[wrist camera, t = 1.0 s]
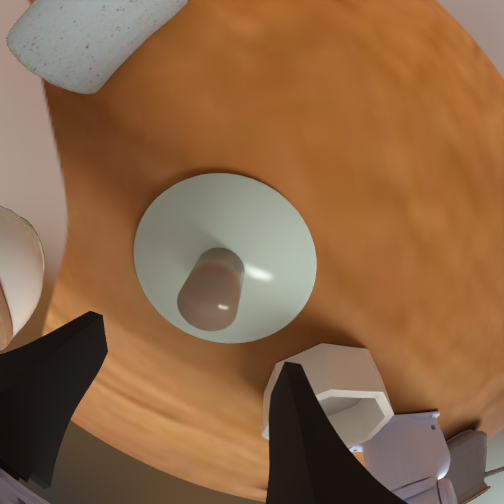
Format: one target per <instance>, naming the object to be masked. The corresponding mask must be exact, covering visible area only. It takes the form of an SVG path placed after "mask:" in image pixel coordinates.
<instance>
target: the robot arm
mask: <svg viewBox="0 0 504 504" xmlns="http://www.w3.org/2000/svg"><path fill="white" fill-rule="evenodd" d="M107 352H108V349H107V343H106V337H105V330H104V322H103V315H100V314H98V313H95V312H92V311H89V312H87V313H85V314H83V315H81V316H80V317H78V318H76V319H74V320H72V321H71V322H69V323H67V324H65V325H63V326H62V327H60V328H58V329H56V330H54V331H53V332H51V333H49V334H47V335H45V336H43V337H41V338H39V339H37V340H35V341H33V342H31V343H29V344H27V345H24V346H22V347H20V348H17V349H14V350H12V351H9V352H6V353H3V354H0V504H50V503H48V502H47V501H45V500H44V499H42V498H40V497H39V496H37V495H36V494H34V493H33V492H31V491H30V490H29V489H27V488H26V487H25V486H23V485H22V484H20V483H19V482H18V479H19V477H20V478H21V479H23V480H24V481H26V482H27V481H28V480H29V479H30V480H32V481H33V482H34V483H36V484H37V485H39V486H41V487H42V488H49V487H51V480H52V475H53V470H54V466H55V462H56V458H57V455H58V451H59V448H60V445H61V442H62V439H63V436H64V433H65V431H66V428H67V426H68V424H69V421H70V419H71V417H72V415H73V413H74V411H75V409H76V407H77V406H78V404H79V402H80V401H81V399H82V398H83V396H84V394H85V393H86V391H87V389H88V388H89V386H90V385H91V383H92V381H93V380H94V378H95V377H96V375H97V373H98V372H99V370H100V368H101V366H102V364H103V361H104V359H105V357H106V355H107ZM439 415H440V412H439V411H434V412H425V413H414V414H400V415H393V416H392V417H391V419H390V420H389V421H388V422H387V423H386V424H385V425H384V426H383V427H382V428H381V429H380V430H379V431H378V432H377V433H376V434H375V435H374V436H373V437H372V438H371V439H370V440H368V441H365V442H363V443H360V444H357V445H355V446H352V447H349V448H347V446H346V445H345V444H344V442H343V441H342V439H341V438H340V437H339V435H338V434H337V432H336V431H335V429H334V427H333V426H332V424H331V423H330V421H329V419H328V418H327V416H326V414H325V412H324V410H323V409H322V407H321V405H320V403H319V401H318V399H317V397H316V395H315V393H314V391H313V389H312V387H311V385H310V383H309V381H308V378H307V376H306V374H305V371H304V369H303V367H302V365H301V364H299V363H292V362H286V361H285V362H284V364H283V367H282V369H281V372H280V374H279V376H278V379H277V381H276V383H275V385H274V388H273V390H272V392H271V397H270V406H269V459H270V467H269V481H268V490H267V498H266V504H458V502H457V498H456V495H455V492H454V489H453V486H452V483H451V481H450V480H449V479H445V478H443V477H444V476H445V475H446V473H447V471H448V469H449V465H450V453H449V449H448V447H447V444H446V441H445V439H444V436H443V434H442V431H441V429H440V426H439V424H438V421H437V419H436V418H437V417H438V416H439ZM351 452H363V457H364V462H365V467H364V466H363V465H362V464H361V463H360V462H359V461H358V460H357V459H356V457H355V456H354V455H353V454H352V453H351Z"/></svg>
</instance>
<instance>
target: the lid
mask: <svg viewBox="0 0 504 504" xmlns="http://www.w3.org/2000/svg"><path fill="white" fill-rule="evenodd" d="M134 264H135V270H136V274H137V277H138V280H139V283H140V285H141V287H142V290H143V292H144V293H145V295H146V297H147V298H148V300H149V301H150V303H151V304H152V305H153V307H154V308H155V309H156V310H157V311H158V312H159V313H160V314H161V315H162V316H163V317H164V318H165V319H166V320H167V321H169V322H170V323H171V324H173V325H174V326H176V327H177V328H179V329H180V330H182V331H184V332H186V333H188V334H190V335H193V336H195V337H198V338H201V339H204V340H208V341H213V342H218V343H244V342H251V341H255V340H258V339H262V338H264V337H267V336H269V335H271V334H273V333H275V332H277V331H279V330H281V329H282V328H283V327H285V326H286V325H288V324H289V323H290V322H291V321H292V320H293V319H294V318H295V317H296V316H297V315H298V314H299V313H300V311H301V310H302V309H303V307H304V306H305V304H306V302H307V301H308V299H309V297H310V294H311V292H312V289H313V286H314V282H315V277H316V269H317V266H316V253H315V247H314V243H313V240H312V237H311V234H310V231H309V229H308V227H307V225H306V223H305V221H304V220H303V218H302V217H301V215H300V214H299V212H298V211H297V210H296V208H295V207H294V206H293V205H292V204H291V203H290V202H289V201H288V200H287V199H286V198H285V197H284V196H282V195H281V194H280V193H279V192H277V191H276V190H274V189H273V188H271V187H269V186H268V185H266V184H264V183H262V182H259V181H257V180H255V179H252V178H249V177H245V176H242V175H237V174H229V173H210V174H203V175H198V176H195V177H191V178H188V179H186V180H183V181H181V182H179V183H177V184H175V185H173V186H172V187H170V188H169V189H167V190H166V191H164V192H163V193H162V194H161V195H159V196H158V197H157V198H156V199H155V200H154V201H153V202H152V204H151V205H150V206H149V207H148V209H147V210H146V212H145V213H144V215H143V217H142V219H141V221H140V223H139V226H138V228H137V232H136V236H135V241H134Z"/></svg>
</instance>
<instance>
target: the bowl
mask: <svg viewBox="0 0 504 504" xmlns="http://www.w3.org/2000/svg"><path fill="white" fill-rule="evenodd" d="M285 361H286V362H292V363H299V364H301V365H302V367H303V369H304V371H305V374H306V376H307V378H308V381H309V383H310V385H311V387H312V389H313V391H314V393H315V395H316V397H317V399H318V401H319V403H320V405H321V407H322V409H323V410H324V412H325V414H326V416H327V418H328V419H329V421H330V423H331V424H332V426H333V427H334V429H335V431H336V432H337V434H338V435H339V437H340V438H341V439H342V441H343V442H344V444H345V445H346V446H347V448H349V447H352V446H355V445H357V444H360V443H363V442H365V441H368V440H370V439H371V438H372V437H373V436H374V435H375V434H376V433H377V432H378V431H379V430H380V429H381V428H382V427H383V426H384V425H385V424H386V423H387V422H388V421H389V420H390V419H391V417H392V416H393V415H394V412H393V409H392V406H391V403H390V400H389V397H388V394H387V392H386V389H385V386H384V383H383V380H382V378H381V375H380V373H379V371H378V369H377V367H376V365H375V363H374V361H373V359H372V357H371V355H370V353H369V351H368V349H365V348H356V347H348V346H340V345H333V344H326V343H321V344H319V345H316V346H314V347H312V348H310V349H308V350H305V351H303V352H301V353H299V354H296V355H294V356H292V357H289V358H287V359H285V360H282V361H280V362H277V363H276V364H275V366H274V369H273V371H272V374H271V376H270V379H269V381H268V384H267V386H266V389H265V391H264V399H263V418H262V436H263V437H264V438H266V439H267V440H268V441H269V406H270V397H271V392H272V390H273V388H274V385H275V383H276V381H277V379H278V376H279V374H280V372H281V369H282V367H283V364H284V362H285Z"/></svg>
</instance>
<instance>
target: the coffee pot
mask: <svg viewBox="0 0 504 504" xmlns="http://www.w3.org/2000/svg"><path fill="white" fill-rule="evenodd" d="M446 444H447V447H448V449H449V453H450V465H449V469H448V471H447V473H446V475H445V476H444V477H443V478H445V479H449V480H450V481H451V483H452V486H453V489H454V492H455V495H456V498H457V502H458V504H466V503H467V502H469V501H471V500H473V499H475V498H476V497H478V496H480V495H481V494H482V493H484V492H486V491H487V490H488V489H490V486H487V485H486V484H485V482H484V478H485V477H487V476H490V475H493V474H496V473H499V472H502V471H504V467H501V468H498V469H495V470H491V471H488V472H485V467H486V455H487V434H486V433H484V432H483V431H478V430H475V431H473V430H471V429H470V430H466V431H464V432H461V433H459V434H458V435H456V436H454V437H452V438H451V439H449V440H448V441H446Z"/></svg>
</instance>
